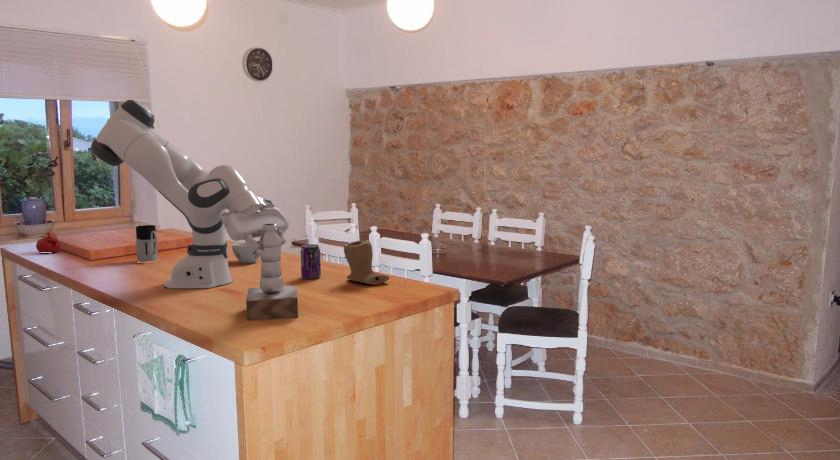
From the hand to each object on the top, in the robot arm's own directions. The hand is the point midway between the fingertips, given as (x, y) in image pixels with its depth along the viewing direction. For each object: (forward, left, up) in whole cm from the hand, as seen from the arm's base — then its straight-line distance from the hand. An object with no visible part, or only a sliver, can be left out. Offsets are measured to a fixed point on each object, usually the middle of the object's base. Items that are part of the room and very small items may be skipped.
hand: (271, 245), depth 177 cm
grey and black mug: (-51, +89, -20) cm, 105 cm away
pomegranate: (-101, +125, -20) cm, 162 cm away
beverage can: (+13, +44, -20) cm, 50 cm away
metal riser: (0, -1, -20) cm, 20 cm away
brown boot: (+31, +32, -20) cm, 49 cm away
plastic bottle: (0, -1, -14) cm, 14 cm away
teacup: (-12, +81, -20) cm, 85 cm away
